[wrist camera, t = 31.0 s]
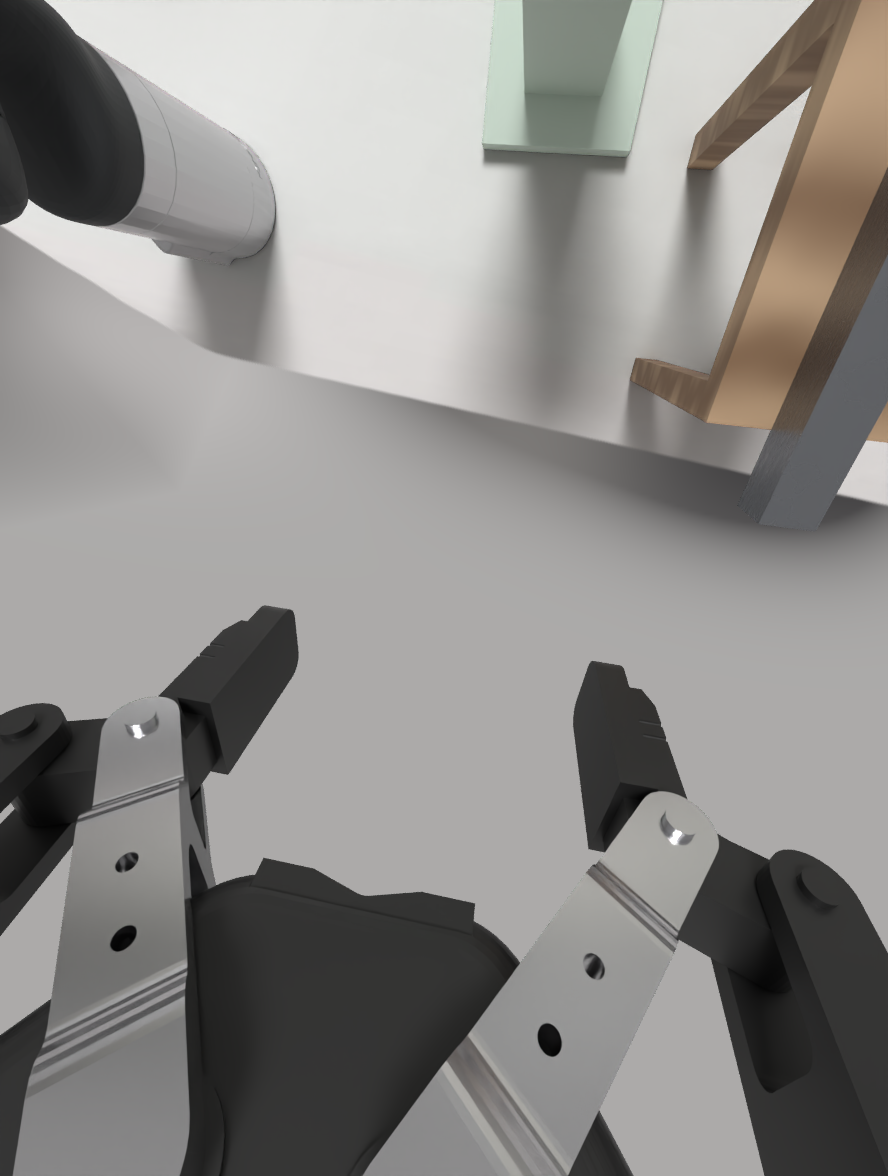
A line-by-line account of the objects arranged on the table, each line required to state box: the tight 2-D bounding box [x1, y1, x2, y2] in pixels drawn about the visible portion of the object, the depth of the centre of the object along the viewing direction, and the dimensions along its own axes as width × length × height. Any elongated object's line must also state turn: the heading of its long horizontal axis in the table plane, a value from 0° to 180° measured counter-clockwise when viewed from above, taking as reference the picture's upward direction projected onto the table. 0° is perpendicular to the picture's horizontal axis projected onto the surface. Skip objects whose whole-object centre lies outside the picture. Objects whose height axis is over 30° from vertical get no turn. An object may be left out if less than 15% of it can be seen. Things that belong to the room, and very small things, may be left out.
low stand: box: [630, 0, 888, 443], centre depth 30 cm, size 18×10×23 cm, turn 175°
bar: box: [738, 167, 888, 531], centre depth 21 cm, size 22×3×3 cm, turn 175°
